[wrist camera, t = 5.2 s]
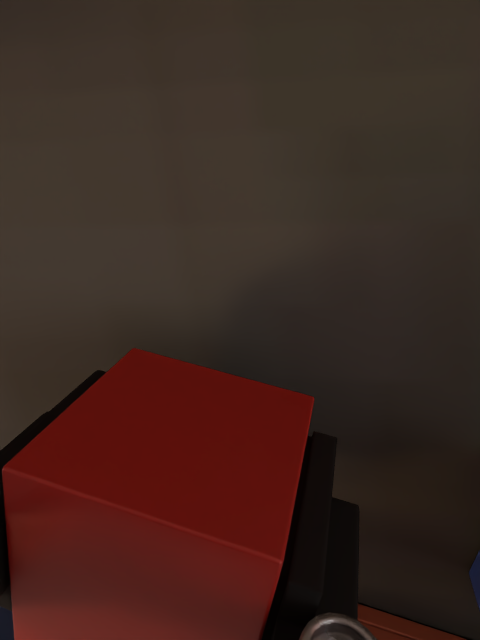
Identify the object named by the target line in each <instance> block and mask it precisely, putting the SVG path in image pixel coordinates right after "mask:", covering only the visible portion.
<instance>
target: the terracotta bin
mask: <svg viewBox="0 0 480 640" xmlns="http://www.w3.org/2000/svg"><path fill="white" fill-rule="evenodd" d="M358 622H360V623H361V624H362V625H364V626H365V627H366V628H368V629H369V630H370V632H371V633H372V634H373V635H374V636H375V637H376V639H377V640H467V639H464V638H461V637H458V636H455V635H452V634H449V633H446V632H443V631H440V630H437V629H434V628H431V627H428V626H425V625H422V624H419V623H416V622H413V621H410V620H407V619H404V618H401V617H397V616H394V615H391V614H388V613H385V612H382V611H379V610H376V609H373V608H370V607H367V606H364V605H361V604H358Z"/></svg>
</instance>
